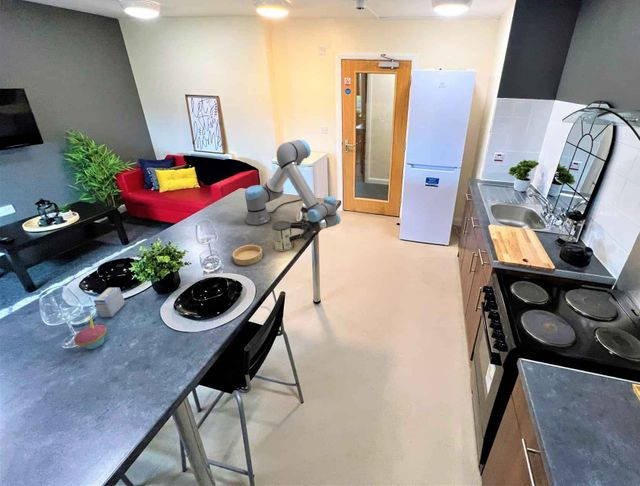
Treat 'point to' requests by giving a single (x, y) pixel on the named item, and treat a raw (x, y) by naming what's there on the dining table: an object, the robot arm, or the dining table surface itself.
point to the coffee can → (282, 235)
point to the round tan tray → (247, 254)
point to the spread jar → (302, 214)
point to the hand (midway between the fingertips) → (284, 234)
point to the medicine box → (109, 302)
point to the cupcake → (91, 335)
